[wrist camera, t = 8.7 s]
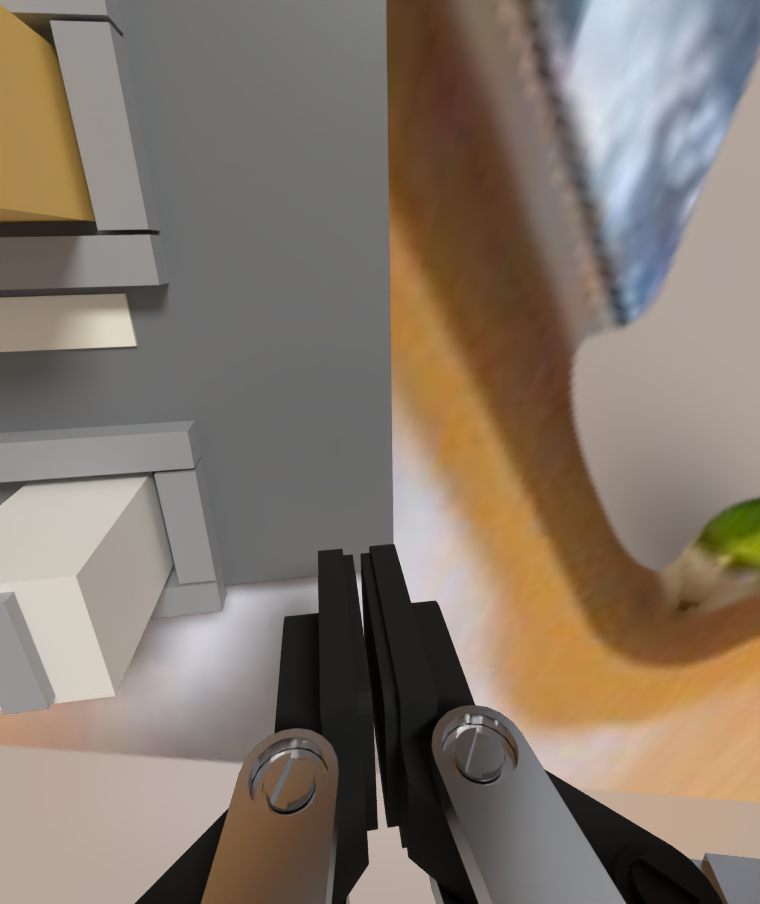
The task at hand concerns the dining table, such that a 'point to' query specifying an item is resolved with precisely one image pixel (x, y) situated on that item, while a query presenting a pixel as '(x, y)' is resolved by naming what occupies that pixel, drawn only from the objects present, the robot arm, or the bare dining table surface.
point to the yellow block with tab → (37, 133)
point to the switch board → (214, 282)
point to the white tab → (76, 585)
